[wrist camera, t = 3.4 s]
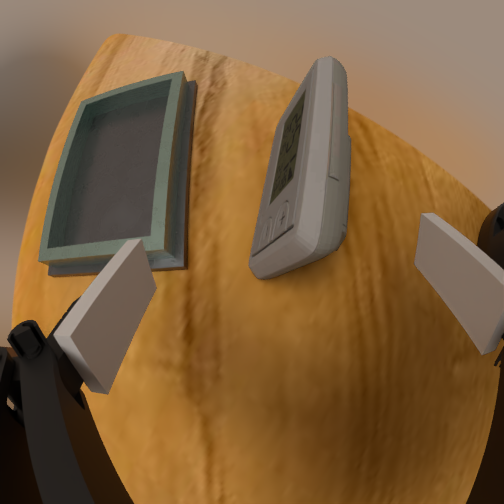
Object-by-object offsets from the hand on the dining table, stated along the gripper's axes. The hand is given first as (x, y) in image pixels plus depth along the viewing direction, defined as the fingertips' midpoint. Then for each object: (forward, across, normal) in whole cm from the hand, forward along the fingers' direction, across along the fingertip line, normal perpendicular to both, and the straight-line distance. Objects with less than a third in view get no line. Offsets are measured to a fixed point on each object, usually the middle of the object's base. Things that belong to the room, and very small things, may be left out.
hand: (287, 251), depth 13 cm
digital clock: (+14, +2, -2) cm, 14 cm away
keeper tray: (+18, -16, +2) cm, 24 cm away
